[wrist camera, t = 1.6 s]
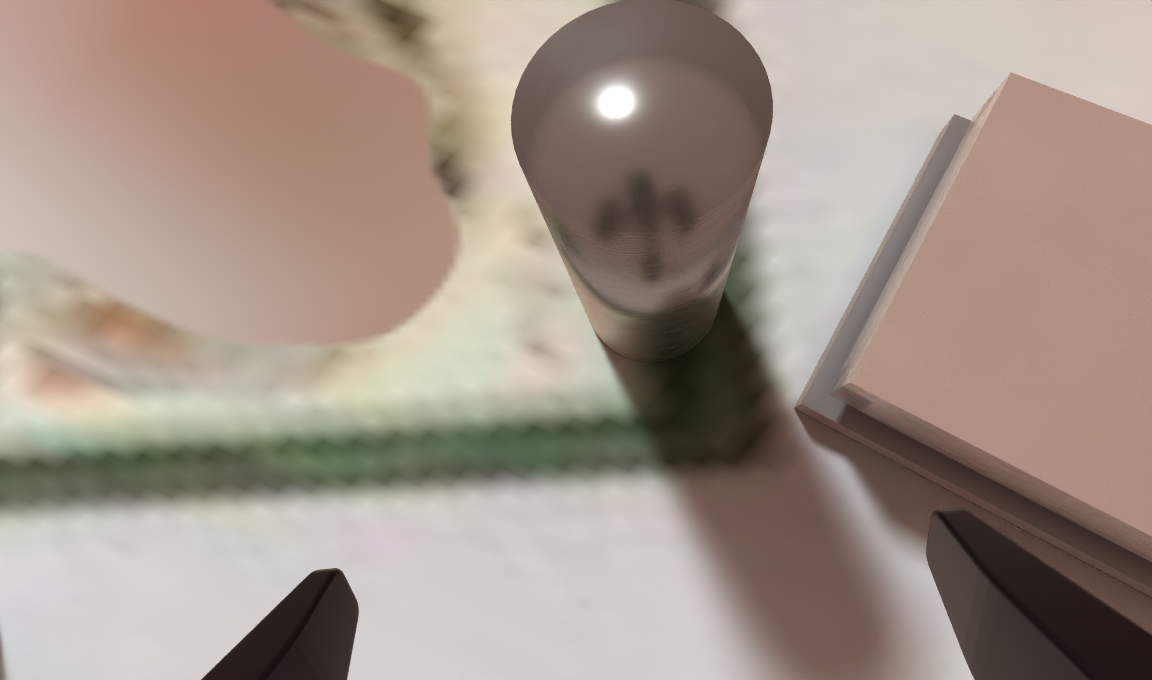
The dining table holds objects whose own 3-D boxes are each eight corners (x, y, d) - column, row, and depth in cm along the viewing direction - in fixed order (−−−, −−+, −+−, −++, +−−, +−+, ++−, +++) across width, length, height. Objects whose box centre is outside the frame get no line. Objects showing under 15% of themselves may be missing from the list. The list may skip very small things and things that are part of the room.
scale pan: (1330, 258, 20) (1423, 226, 17) (1193, 583, 18) (1273, 598, 16) (973, 117, 22) (1010, 72, 20) (828, 394, 21) (849, 382, 18)
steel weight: (742, 271, 24) (820, 54, 12) (678, 386, 24) (692, 278, 12) (626, 214, 25) (591, -36, 13) (562, 322, 25) (463, 164, 13)
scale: (1409, 321, 21) (1632, 271, 16) (1273, 662, 19) (1476, 719, 15) (940, 132, 24) (1008, 43, 20) (794, 407, 23) (828, 386, 18)
